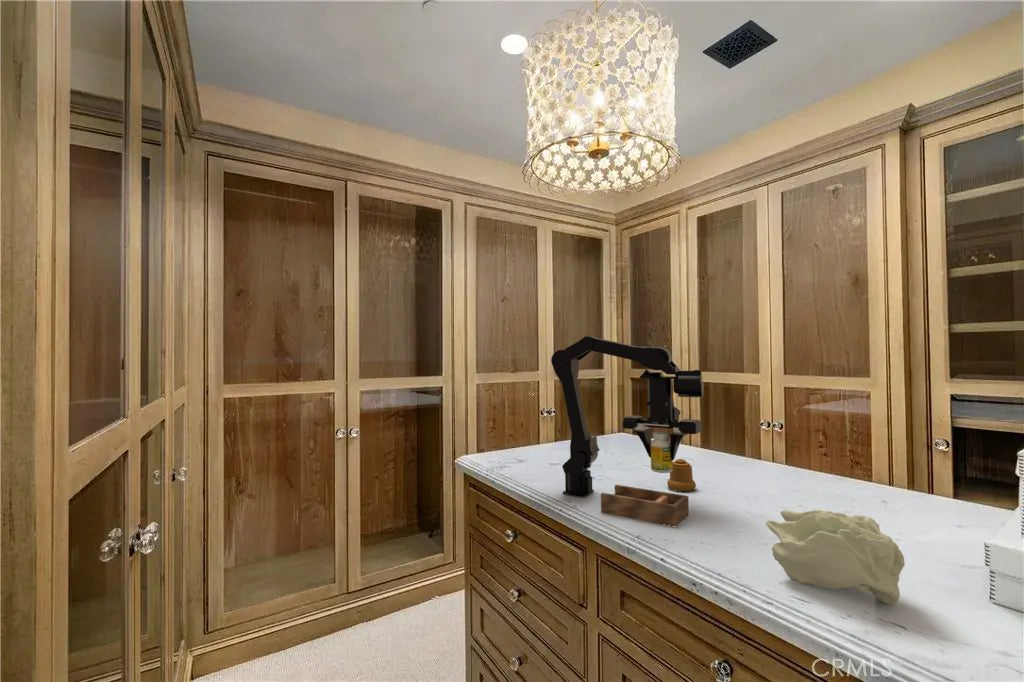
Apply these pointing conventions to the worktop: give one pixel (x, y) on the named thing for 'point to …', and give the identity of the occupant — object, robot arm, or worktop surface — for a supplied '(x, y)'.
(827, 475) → the worktop surface
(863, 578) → the wavy plaster lump
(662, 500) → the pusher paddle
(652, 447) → the supplement bottle
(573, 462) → the robot arm
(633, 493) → the pusher lane
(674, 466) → the ornamental finial
